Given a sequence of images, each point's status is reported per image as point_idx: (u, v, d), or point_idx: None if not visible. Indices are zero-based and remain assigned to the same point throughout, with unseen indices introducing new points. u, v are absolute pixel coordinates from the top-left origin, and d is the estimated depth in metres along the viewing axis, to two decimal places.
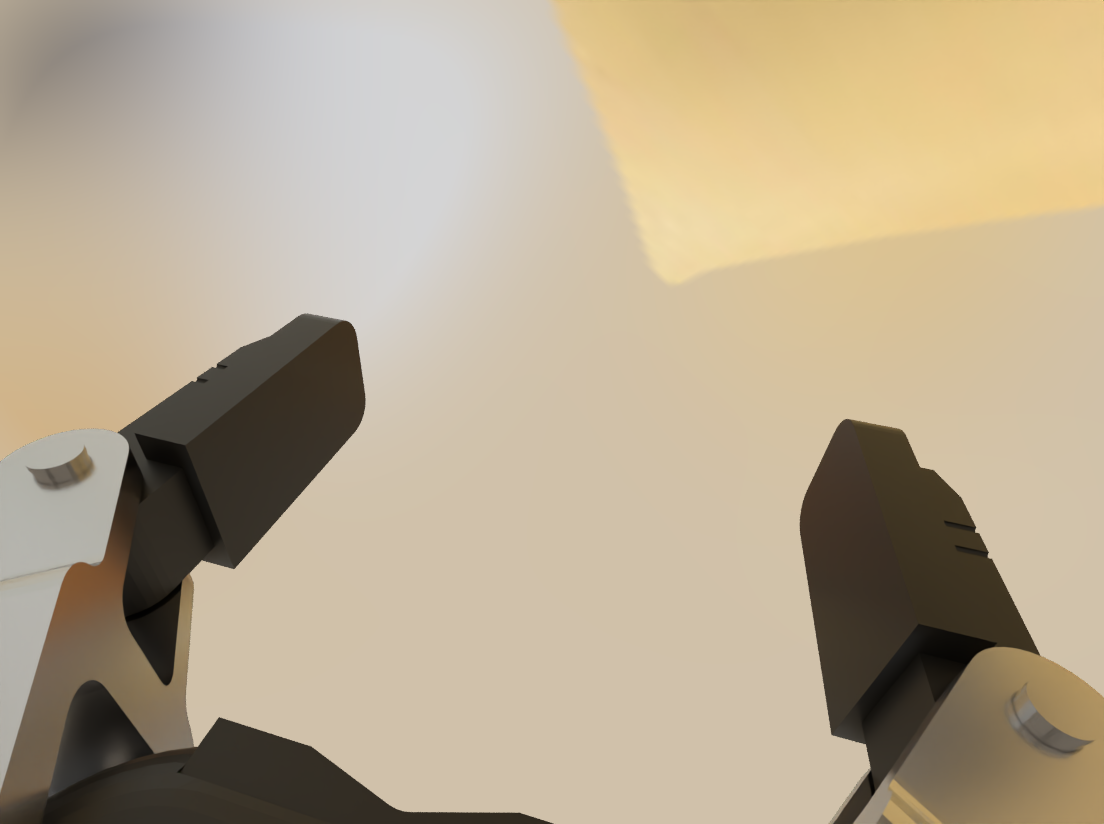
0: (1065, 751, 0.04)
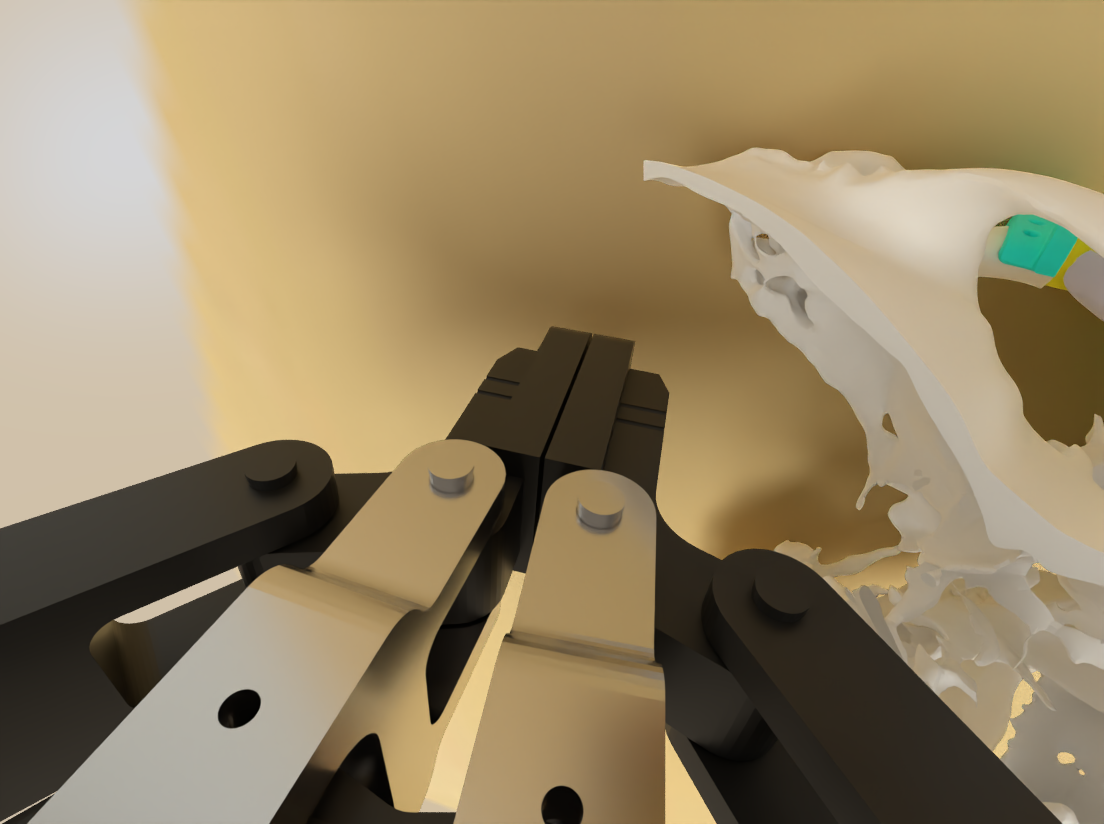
0: (590, 524, 0.06)
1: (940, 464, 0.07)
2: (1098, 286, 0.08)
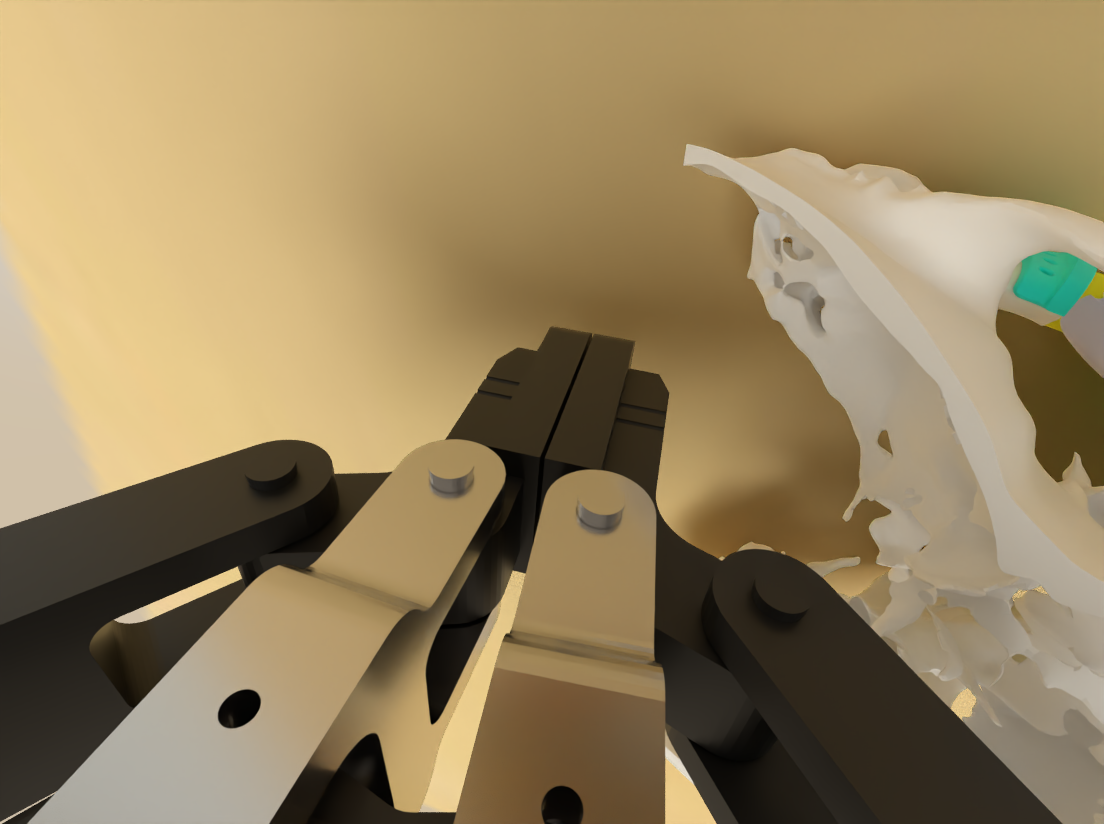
0: (590, 524, 0.06)
1: (935, 485, 0.07)
2: (1092, 330, 0.08)
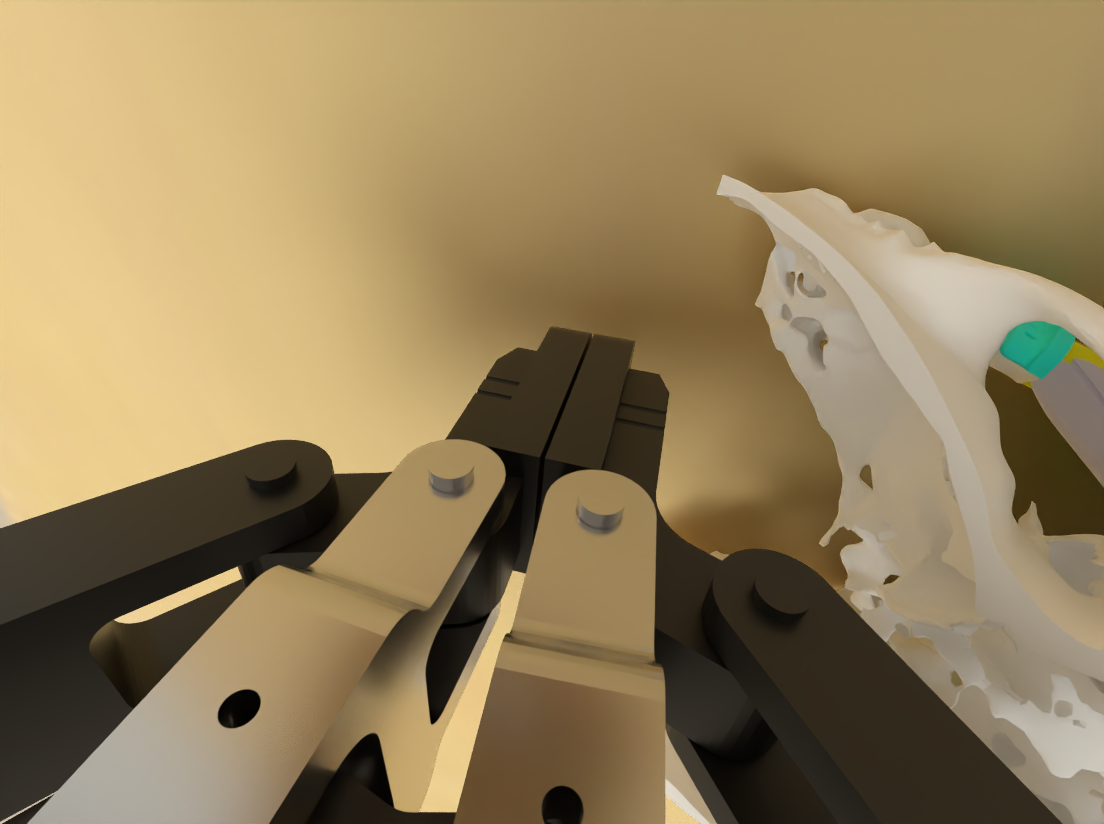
0: (590, 524, 0.06)
1: (911, 523, 0.08)
2: (1059, 391, 0.09)
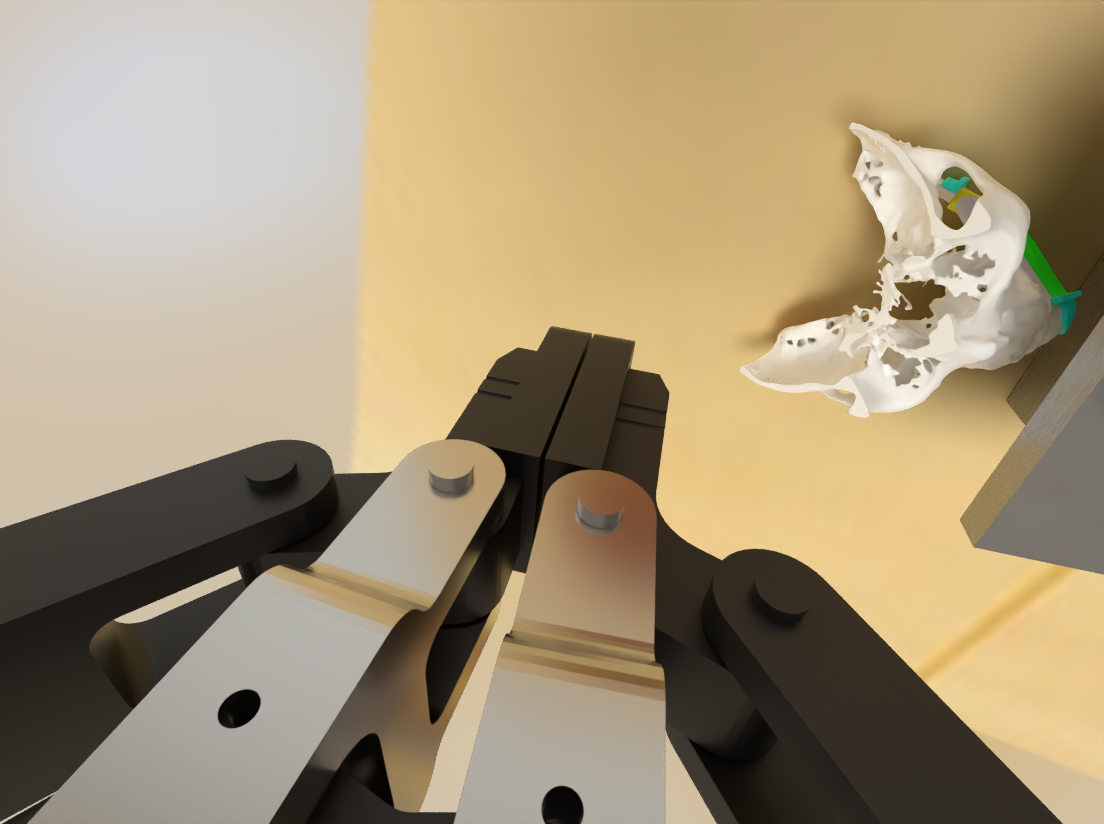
0: (590, 524, 0.06)
1: (912, 241, 0.23)
2: (965, 208, 0.25)
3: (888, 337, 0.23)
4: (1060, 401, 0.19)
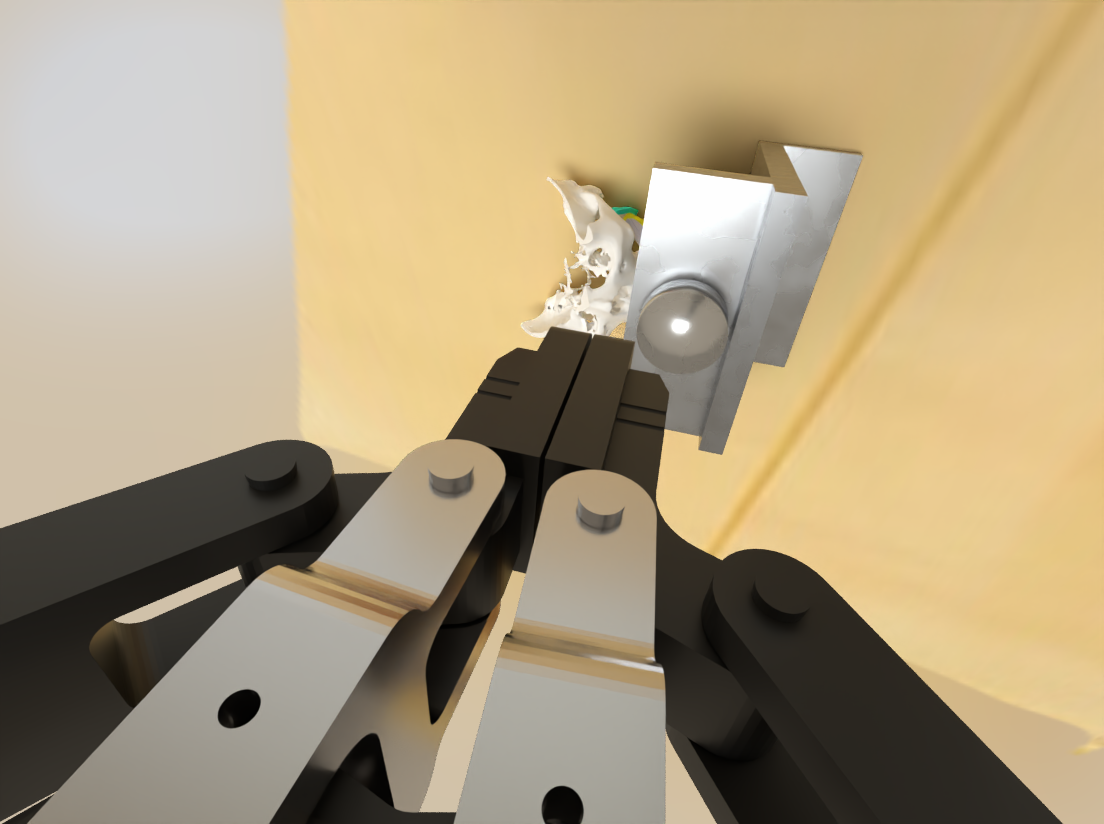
0: (590, 524, 0.06)
1: None
2: None
3: (568, 300, 0.40)
4: None
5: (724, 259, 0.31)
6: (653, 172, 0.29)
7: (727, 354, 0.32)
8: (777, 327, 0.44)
